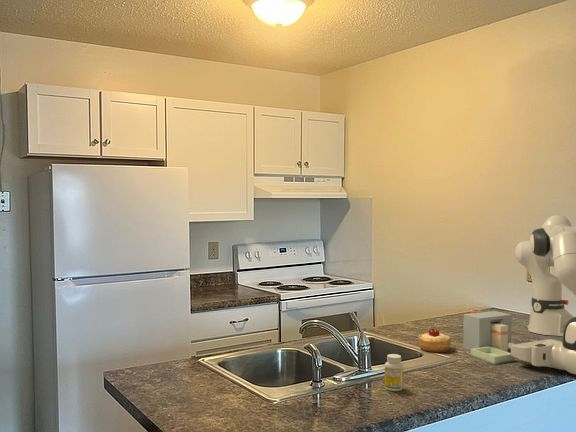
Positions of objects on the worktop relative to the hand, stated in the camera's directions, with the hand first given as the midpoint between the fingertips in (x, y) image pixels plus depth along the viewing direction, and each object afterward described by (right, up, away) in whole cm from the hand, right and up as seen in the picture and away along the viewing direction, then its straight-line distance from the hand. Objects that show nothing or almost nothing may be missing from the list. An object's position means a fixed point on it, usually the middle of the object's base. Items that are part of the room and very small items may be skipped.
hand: (519, 343), depth 190 cm
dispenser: (-7, -5, +13) cm, 16 cm away
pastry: (-27, -5, +11) cm, 30 cm away
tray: (-10, -5, -1) cm, 11 cm away
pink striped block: (-4, -5, +9) cm, 11 cm away
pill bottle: (-6, -5, +28) cm, 29 cm away
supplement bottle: (-51, -6, -32) cm, 60 cm away
